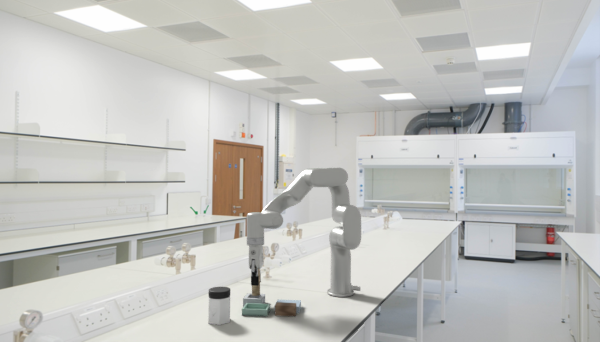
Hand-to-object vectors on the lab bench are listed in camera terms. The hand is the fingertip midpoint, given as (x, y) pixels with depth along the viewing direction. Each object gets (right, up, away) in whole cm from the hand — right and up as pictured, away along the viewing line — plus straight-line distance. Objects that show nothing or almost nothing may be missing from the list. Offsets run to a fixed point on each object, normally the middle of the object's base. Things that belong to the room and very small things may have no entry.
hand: (255, 283), depth 177 cm
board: (+14, -9, -6) cm, 18 cm away
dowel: (0, -5, 0) cm, 5 cm away
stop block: (+13, -9, -13) cm, 20 cm away
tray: (+1, -9, -11) cm, 14 cm away
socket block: (-1, -9, 0) cm, 9 cm away
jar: (-12, -9, -22) cm, 26 cm away
